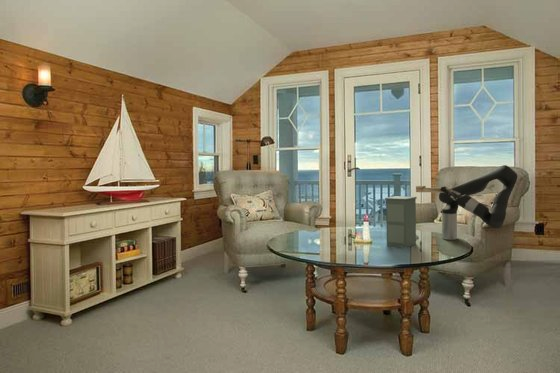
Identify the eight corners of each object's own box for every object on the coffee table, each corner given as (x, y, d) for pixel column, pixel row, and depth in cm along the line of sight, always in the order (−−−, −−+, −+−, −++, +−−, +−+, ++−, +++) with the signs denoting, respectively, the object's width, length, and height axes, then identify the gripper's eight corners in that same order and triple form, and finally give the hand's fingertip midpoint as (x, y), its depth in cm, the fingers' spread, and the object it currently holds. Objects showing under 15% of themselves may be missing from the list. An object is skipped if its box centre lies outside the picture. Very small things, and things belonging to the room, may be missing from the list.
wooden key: (419, 191, 254) (419, 185, 254) (452, 192, 241) (452, 186, 240) (415, 192, 250) (415, 186, 250) (449, 193, 237) (449, 186, 237)
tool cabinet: (396, 241, 272) (396, 196, 270) (417, 243, 262) (416, 196, 261) (385, 245, 261) (385, 198, 259) (406, 248, 251) (406, 198, 249)
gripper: (476, 197, 236) (449, 181, 246) (468, 199, 226) (440, 183, 235) (469, 208, 239) (443, 192, 249) (461, 210, 229) (434, 194, 238)
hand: (442, 188), depth 242 cm, fingers closed on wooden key, 3 cm apart
